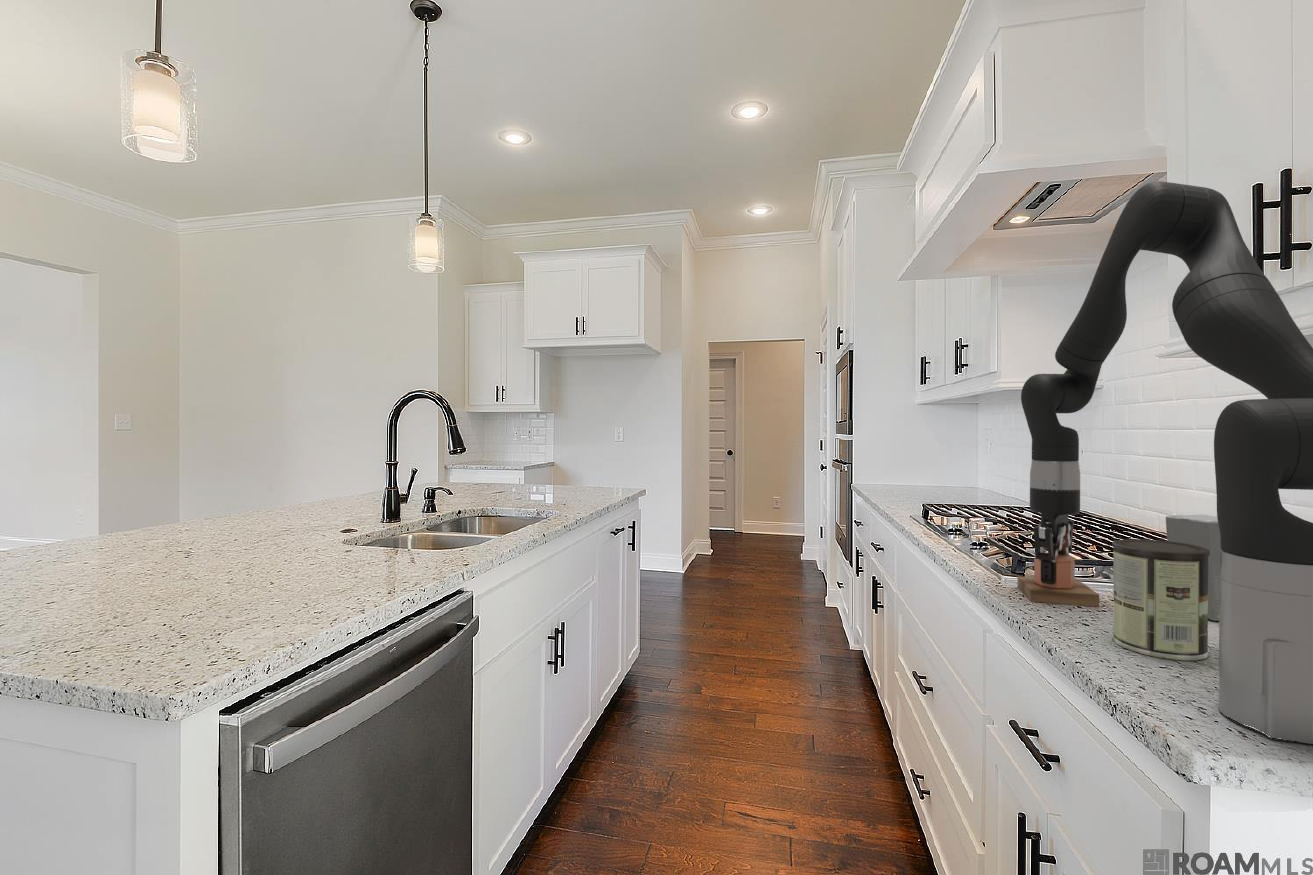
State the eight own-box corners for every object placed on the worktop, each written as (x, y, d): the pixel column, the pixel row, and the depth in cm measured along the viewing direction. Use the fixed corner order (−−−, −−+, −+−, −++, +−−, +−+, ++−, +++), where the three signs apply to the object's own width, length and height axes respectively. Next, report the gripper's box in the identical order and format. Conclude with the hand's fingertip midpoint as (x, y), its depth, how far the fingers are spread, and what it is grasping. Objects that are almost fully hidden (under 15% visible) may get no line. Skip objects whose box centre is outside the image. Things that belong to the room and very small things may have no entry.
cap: (1077, 584, 108) (1077, 556, 108) (1067, 590, 104) (1067, 561, 104) (1041, 578, 112) (1041, 551, 112) (1031, 583, 108) (1031, 556, 108)
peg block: (1099, 606, 102) (1099, 571, 102) (1031, 601, 105) (1031, 567, 105) (1079, 591, 111) (1079, 558, 111) (1017, 586, 115) (1017, 555, 115)
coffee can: (1153, 632, 90) (1154, 537, 89) (1230, 658, 79) (1231, 551, 79) (1092, 636, 88) (1093, 539, 88) (1163, 664, 78) (1164, 554, 77)
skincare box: (1254, 622, 94) (1255, 520, 93) (1207, 622, 94) (1208, 520, 94) (1206, 606, 102) (1207, 512, 102) (1163, 606, 102) (1164, 512, 102)
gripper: (1066, 490, 100) (1066, 592, 101) (1091, 484, 110) (1090, 577, 110) (1016, 487, 106) (1016, 583, 106) (1043, 481, 116) (1043, 570, 116)
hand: (1053, 580), depth 108 cm, fingers closed on cap, 5 cm apart
